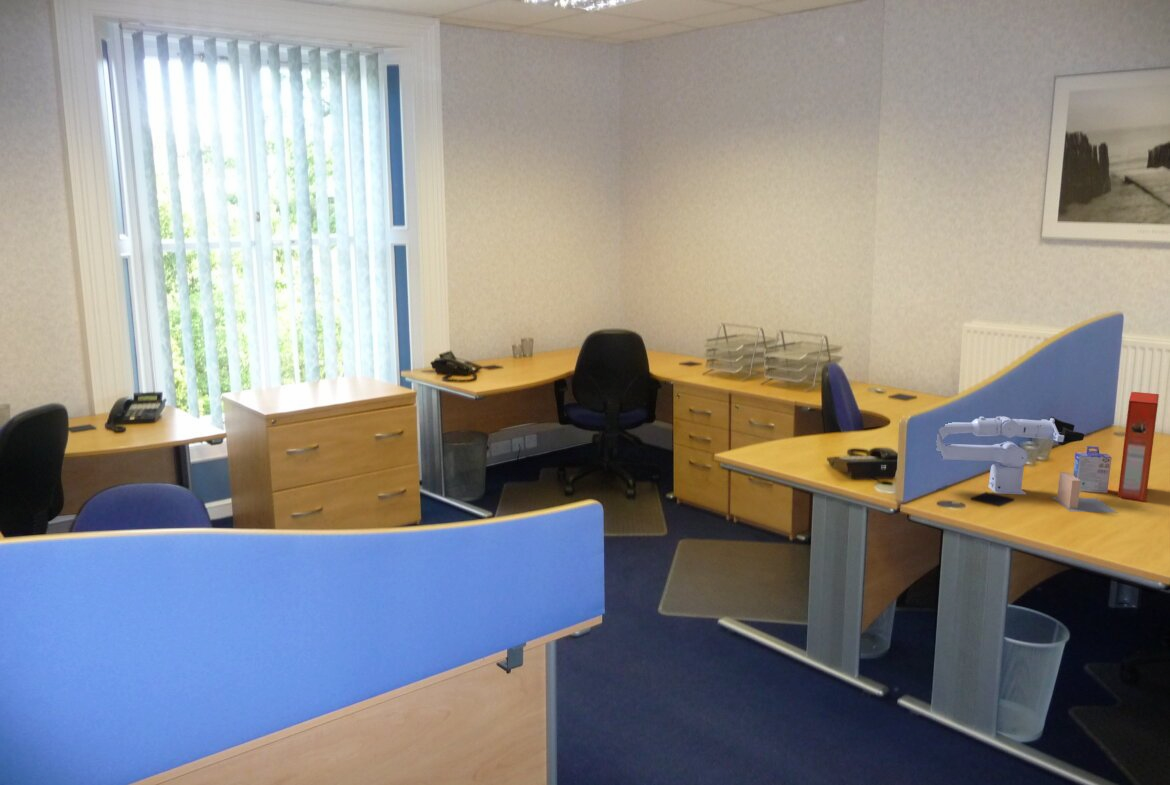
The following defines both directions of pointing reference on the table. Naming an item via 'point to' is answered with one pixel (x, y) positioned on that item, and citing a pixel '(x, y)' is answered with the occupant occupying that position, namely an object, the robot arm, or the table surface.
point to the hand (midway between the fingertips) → (1078, 432)
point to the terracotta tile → (1069, 490)
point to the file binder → (1138, 446)
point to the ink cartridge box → (1092, 470)
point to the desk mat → (1090, 505)
